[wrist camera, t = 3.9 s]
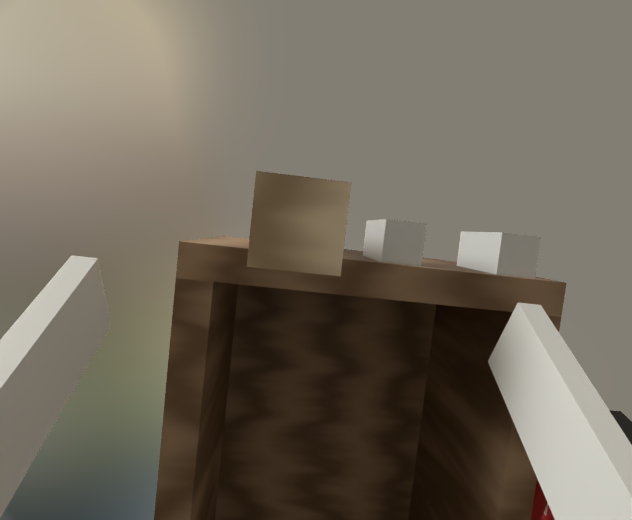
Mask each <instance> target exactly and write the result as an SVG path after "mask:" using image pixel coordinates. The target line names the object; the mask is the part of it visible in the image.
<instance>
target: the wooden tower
mask: <svg viewBox="0 0 632 520" xmlns="http://www.w3.org/2000/svg"><path fill="white" fill-rule="evenodd" d="M248 248H249V239H246V238H237V237H236V238H235V237H227V236H218V237H210V238H202V239H194V240H186V241H179V250H178V262H177V273H176V283H175V295H174V305H173V316H172V328H171V338H170V350H169V360H168V372H167V383H166V393H165V406H164V416H163V427H162V439H161V449H160V460H159V471H158V482H157V494H156V505H155V516H154V520H531V514H532V507H533V501H534V494H535V487H536V481H537V476H536V474H535V472H534V469H533V467H532V465H531V462H530V460H529V458H528V455H527V453H526V450H525V448H524V446H523V443H522V441H521V439H520V436H519V434H518V432H517V429H516V427H515V425H514V422H513V420H512V417H511V415H510V413H509V410H508V408H507V406H506V403H505V401H504V399H503V396H502V394H501V391H500V389H499V387H498V384H497V382H496V380H495V377H494V375H493V373H492V370H491V368H490V366H489V363H488V360H489V358H490V356H491V354H492V352H493V350H494V348H495V346H496V344H497V342H498V340H499V338H500V336H501V334H502V333H503V331H504V329H505V327H506V325H507V323H508V321H509V319H510V317H511V315H512V313H513V311H514V309H515V307H516V305H517V303H527V304H537V305H541V306H542V308H543V309H544V311H545V312H546V314H547V315H548V317H549V318H550V320H551V321H552V323H553V325H554V326H555V328H556V329H557V331H558V332H559V328H560V321H561V315H562V308H563V302H564V295H565V288H566V283H564V282H559V281H553V280H549V279H544V278H539V277H535V279H534V278H525V277H516V276H506V275H497V274H492V273H488V272H483V271H479V270H474V269H469V268H465V267H460V266H457V261H446V260H438V259H429V258H422V264H421V266H413V265H404V264H395V263H385V262H380V261H377V260H374V259H371V258H368V257H365V256H363V251H356V250H346V249H344V251H343V259H342V268H341V276H332V275H322V274H313V273H303V272H294V271H284V270H274V269H265V268H255V267H247V258H248Z"/></svg>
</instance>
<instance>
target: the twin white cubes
mask: <svg viewBox="0 0 632 520" xmlns="http://www.w3.org/2000/svg"><path fill="white" fill-rule="evenodd" d="M425 232H426V224H424V223H416V222H407V221H398V220H390V219H382V220H371V221H367V223H366V232H365V240H364V248H363V256H365V257H368V258H371V259H374V260H377V261H380V262H385V263H395V264H404V265H413V266H421V264H422V256H423V248H424V240H425ZM540 240H541V237H536V236H528V235H519V234H511V233H501V232H461V236H460V244H459V251H458V259H457V266H460V267H465V268H469V269H474V270H479V271H483V272H488V273H492V274H497V275H506V276H516V277H525V278H534V279H535V275H536V268H537V260H538V254H539V247H540Z"/></svg>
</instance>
